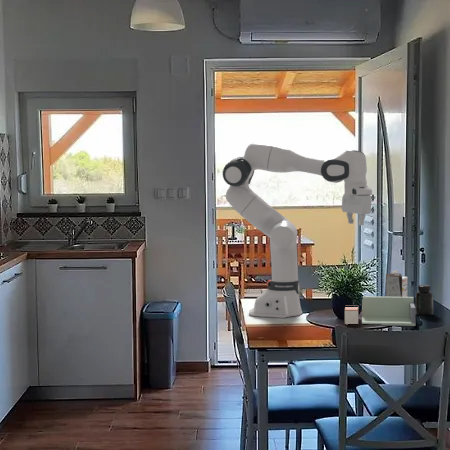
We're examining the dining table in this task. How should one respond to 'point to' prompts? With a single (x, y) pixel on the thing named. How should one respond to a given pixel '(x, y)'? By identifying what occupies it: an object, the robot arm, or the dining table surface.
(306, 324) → the dining table surface
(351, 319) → the beige box
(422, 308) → the supplement bottle
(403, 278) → the ink cartridge box
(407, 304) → the pale green storage bin
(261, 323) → the dining table surface
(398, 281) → the coffee box
